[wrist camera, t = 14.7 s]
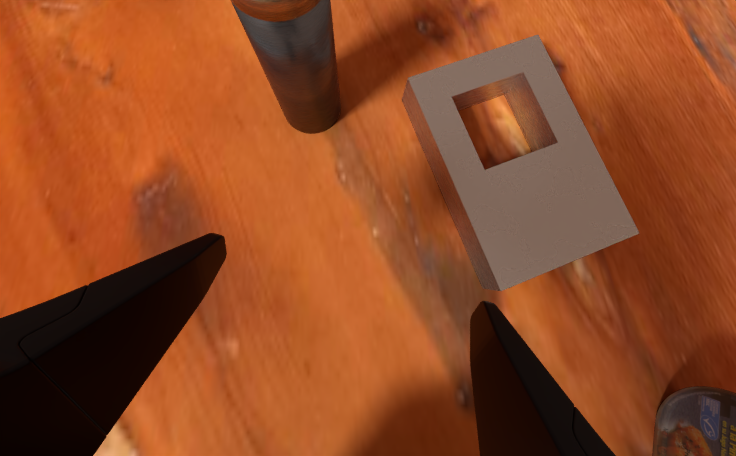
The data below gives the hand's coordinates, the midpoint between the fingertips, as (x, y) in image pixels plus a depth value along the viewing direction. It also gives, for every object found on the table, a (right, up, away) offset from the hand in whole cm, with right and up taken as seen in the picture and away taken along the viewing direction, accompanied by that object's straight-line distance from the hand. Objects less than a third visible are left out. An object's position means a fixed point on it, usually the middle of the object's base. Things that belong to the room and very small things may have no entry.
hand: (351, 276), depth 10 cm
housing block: (+12, +7, +15) cm, 21 cm away
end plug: (-4, +12, +15) cm, 20 cm away
